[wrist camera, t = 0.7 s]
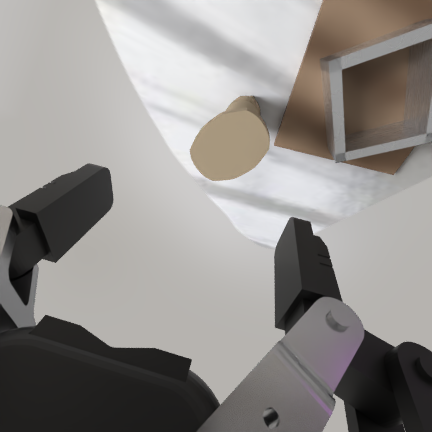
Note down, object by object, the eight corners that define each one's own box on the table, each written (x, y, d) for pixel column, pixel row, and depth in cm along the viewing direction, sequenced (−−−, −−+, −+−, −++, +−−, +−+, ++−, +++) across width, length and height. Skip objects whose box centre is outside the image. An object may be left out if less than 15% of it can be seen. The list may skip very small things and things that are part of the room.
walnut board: (352, -88, 19) (356, -94, 18) (552, -51, 18) (565, -55, 17) (274, 143, 31) (274, 145, 31) (390, 171, 31) (393, 174, 30)
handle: (278, 109, 29) (280, 154, 17) (235, 137, 32) (213, 190, 20) (258, 73, 27) (247, 95, 15) (216, 106, 30) (179, 145, 18)
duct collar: (319, 59, 24) (328, 61, 20) (424, 19, 21) (459, 13, 17) (327, 147, 29) (335, 162, 25) (413, 126, 26) (437, 140, 22)
